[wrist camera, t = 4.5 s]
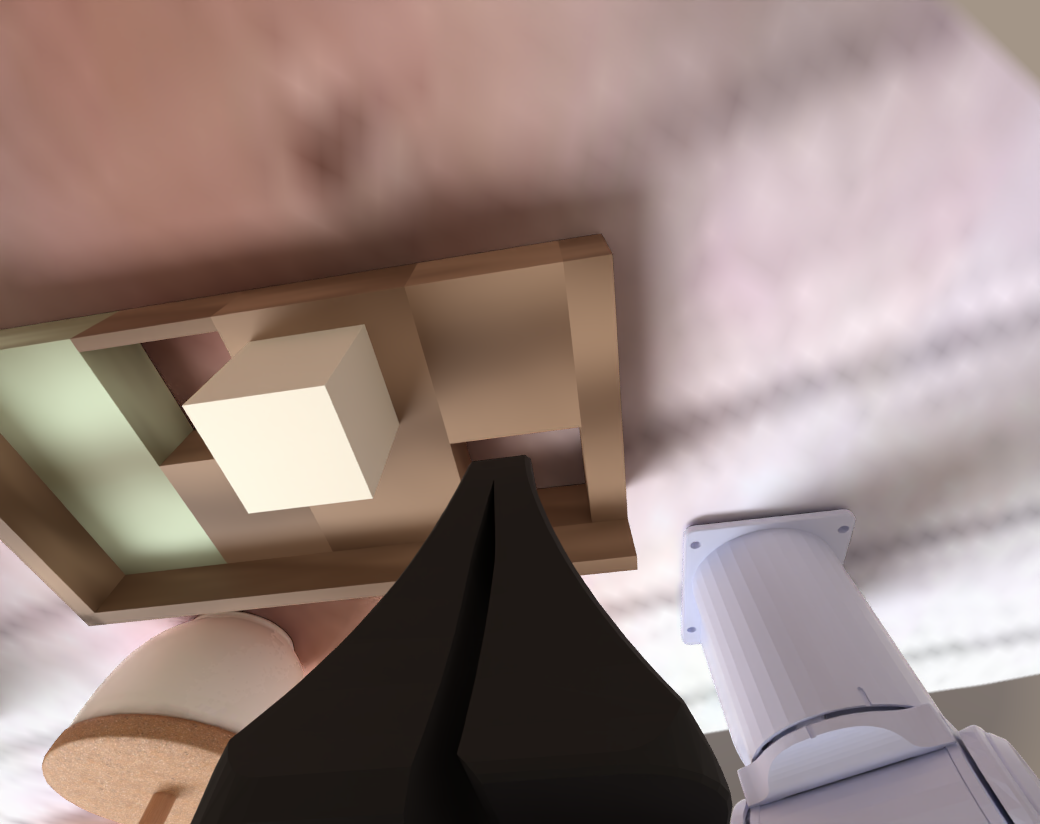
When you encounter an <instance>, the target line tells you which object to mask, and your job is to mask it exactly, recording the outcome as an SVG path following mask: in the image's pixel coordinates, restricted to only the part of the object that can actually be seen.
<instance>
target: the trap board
mask: <svg viewBox="0 0 1040 824" xmlns="http://www.w3.org/2000/svg"><path fill="white" fill-rule="evenodd" d="M363 324H365V327H366V330H367V333H368V336H369V339H370V341H371V344H372V347H373V350H374V353H375V356H376V359H377V361H378V364H379V367H380V370H381V373H382V376H383V379H384V381H385V384H386V387H387V390H388V393H389V396H390V399H391V402H392V404H393V407H394V410H395V413H396V416H397V419H398V422H399V426H398V429H397V432H396V435H395V438H394V440H393V443H392V446H391V449H390V452H389V455H388V457H387V460H386V463H385V466H384V469H383V471H382V474H381V477H380V480H379V483H378V485H377V488H376V491H375V494H374V497H373V499H365V500H356V501H348V502H340V503H331V504H323V505H315V506H307V507H298V508H290V509H282V510H274V511H265V512H257V513H248V512H247V510H246V508H245V507H244V505H243V504H242V502H241V500H240V499H239V497H238V496H237V494H236V492H235V491H234V489H233V488H232V486H231V484H230V483H229V481H228V479H227V478H226V476H225V475H224V473H223V471H222V470H221V468H220V467H219V465H218V463H217V462H216V460H215V458H214V457H213V455H212V454H211V452H210V450H209V449H208V447H207V446H206V444H205V442H204V441H203V439H202V437H201V436H200V434H199V433H198V431H197V429H195V430H194V429H193V428H192V426H191V425H190V423H189V421H188V420H187V418H186V416H185V415H184V413H183V412H182V410H181V408H180V407H179V405H178V404H177V402H176V400H175V399H174V397H173V396H172V394H171V392H170V391H169V389H168V388H167V386H166V384H165V383H164V381H163V380H162V378H161V376H160V375H159V373H158V371H157V370H156V368H155V367H154V365H153V363H152V362H151V360H150V359H149V357H148V355H147V354H146V352H145V351H144V349H143V347H142V346H141V344H140V343H144V342H150V341H157V340H163V339H170V338H176V337H183V336H189V335H196V334H202V333H209V332H215V331H218V333H219V335H220V337H221V338H222V340H223V342H224V344H225V346H226V348H227V350H228V352H229V354H230V356H231V358H233V357H234V356H235V355H236V354H237V353H238V352H239V351H240V350H241V349H242V348H243V347H244V346H245V345H246V344H247V343H248V342H251V341H257V340H264V339H271V338H277V337H284V336H290V335H297V334H304V333H310V332H317V331H323V330H330V329H336V328H343V327H350V326H356V325H363ZM577 427H579V430H580V438H581V447H582V456H583V465H584V474H585V482H586V484H578V485H570V486H561V487H553V488H544V489H536V490H537V493H538V496H539V498H540V501H541V503H542V506H543V508H544V510H545V512H546V515H547V517H548V519H549V521H550V523H551V525H552V527H553V529H554V531H555V533H556V535H557V537H558V539H559V541H560V543H561V545H562V546H563V548H564V550H565V552H566V553H567V555H568V557H569V559H570V560H571V562H572V564H573V565H574V567H575V568H576V570H577V571H578V573H579V575H589V574H598V573H608V572H618V571H627V570H637V555H636V551H635V547H634V543H633V538H632V534H631V530H630V526H629V522H628V517H627V499H626V482H625V464H624V447H623V429H622V412H621V394H620V377H619V359H618V342H617V324H616V307H615V289H614V272H613V254H612V252H611V250H610V249H609V247H608V245H607V243H606V241H605V239H604V238H603V236H602V234H596V235H589V236H583V237H577V238H571V239H564V240H558V241H552V242H546V243H539V244H533V245H527V246H521V247H514V248H508V249H502V250H496V251H489V252H483V253H477V254H471V255H464V256H458V257H452V258H446V259H439V260H433V261H427V262H421V263H415V264H408V265H402V266H396V267H390V268H383V269H377V270H371V271H365V272H358V273H352V274H346V275H340V276H333V277H327V278H321V279H315V280H308V281H302V282H296V283H290V284H283V285H277V286H271V287H265V288H258V289H252V290H246V291H240V292H233V293H227V294H221V295H215V296H209V297H202V298H196V299H190V300H184V301H177V302H171V303H165V304H159V305H152V306H146V307H140V308H134V309H127V310H121V311H115V312H109V313H102V314H96V315H90V316H84V317H77V318H71V319H65V320H59V321H52V322H46V323H40V324H34V325H27V326H21V327H15V328H9V329H3V330H0V540H1V541H2V542H3V543H4V544H5V545H6V546H7V547H8V548H9V549H10V550H12V551H13V552H14V553H15V554H16V555H17V556H18V557H19V558H20V559H21V560H22V561H23V562H24V563H25V564H26V565H27V566H28V567H29V568H30V569H31V570H32V571H33V572H34V573H35V574H36V575H37V576H38V577H39V578H40V579H41V580H42V581H43V582H44V583H45V584H46V585H47V586H48V587H49V588H50V589H52V590H53V591H54V592H55V593H56V594H57V595H58V596H59V597H60V598H61V599H62V600H63V601H64V602H65V603H66V604H67V605H68V606H69V607H70V608H71V609H72V610H73V611H74V612H75V613H76V614H77V615H78V616H79V617H80V618H81V619H82V620H83V621H84V622H85V623H86V624H87V625H88V626H94V625H104V624H114V623H123V622H133V621H143V620H152V619H162V618H172V617H181V616H191V615H201V614H211V613H220V612H230V611H240V610H249V609H259V608H269V607H278V606H288V605H298V604H307V603H317V602H327V601H337V600H346V599H356V598H366V597H375V596H384V595H385V594H386V593H387V592H388V591H389V589H390V588H391V587H392V586H393V584H394V583H395V582H396V581H397V579H398V578H399V577H400V575H401V574H402V573H403V572H404V570H405V569H406V568H407V566H408V565H409V563H410V562H411V561H412V559H413V558H414V556H415V555H416V553H417V552H418V551H419V549H420V548H421V546H422V545H423V543H424V542H425V540H426V539H427V537H428V536H429V534H430V533H431V531H432V530H433V528H434V527H435V525H436V523H437V522H438V520H439V518H440V517H441V515H442V513H443V512H444V510H445V508H446V507H447V505H448V503H449V502H450V500H451V498H452V496H453V495H454V493H455V491H456V489H457V487H458V485H459V484H460V482H461V480H462V478H463V476H464V474H465V472H466V470H467V468H468V466H469V465H470V464H471V459H470V456H469V452H468V448H467V444H466V442H468V441H476V440H484V439H492V438H499V437H507V436H515V435H523V434H531V433H538V432H546V431H554V430H562V429H570V428H577Z"/></svg>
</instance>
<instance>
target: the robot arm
mask: <svg viewBox="0 0 1040 824" xmlns="http://www.w3.org/2000/svg"><path fill="white" fill-rule="evenodd" d="M855 521H856V517H855V516H854V514H853V513H852V512H851V511H850V510H848V509H841V510H832V511H823V512H814V513H805V514H796V515H787V516H777V517H768V518H759V519H750V520H741V521H732V522H723V523H713V524H704V525H695V526H690V527H689V528H687V529H686V530H685V531H684V538H683V575H682V611H681V638H682V641H683V642H684V643H685V644H688V645H692V644H701V645H702V648H703V651H704V655H705V658H706V661H707V664H708V667H709V670H710V673H711V676H712V679H713V682H714V685H715V689H716V692H717V695H718V698H719V701H720V704H721V707H722V710H723V713H724V716H725V719H726V723H727V726H728V729H729V732H730V735H731V738H732V741H733V743H734V746H735V748H736V751H737V753H738V755H739V756H740V758H741V760H742V761H743V763H744V764H745V767H743V768H741V769H739V770H738V771H737V773H738V776H739V779H740V782H741V785H742V788H743V792H744V795H745V798H746V799H742V800H741V801H739V802H738V803H737V804H736V805H735V807H734V809H733V813H732V817H731V811H732V800H731V794H730V790H729V787H728V784H727V782H726V779H725V777H724V774H723V772H722V770H721V767H720V766H719V763H718V761H717V759H716V757H715V755H714V753H713V751H712V749H711V747H710V745H709V744H708V742H707V740H706V738H705V736H704V734H703V733H702V731H701V729H700V727H699V726H698V724H697V722H696V721H695V719H694V717H693V716H692V714H691V712H690V711H689V709H688V707H687V705H686V704H685V702H684V701H683V699H682V698H681V697H680V696H679V695H678V694H677V693H676V692H675V691H674V690H673V689H672V688H671V687H670V686H669V685H668V684H667V683H666V682H665V681H664V680H663V679H662V677H661V676H660V675H659V674H658V673H657V672H656V671H655V670H654V669H653V668H652V667H651V666H650V664H649V663H648V662H647V661H646V660H645V659H644V658H643V657H642V655H641V654H640V653H639V652H638V651H637V650H636V648H635V647H634V646H633V645H632V644H631V643H630V642H629V640H628V639H627V638H626V637H625V636H624V634H623V633H622V632H621V630H620V629H619V628H618V627H617V625H616V624H615V623H614V622H613V620H612V619H611V618H610V616H609V615H608V614H607V613H606V611H605V610H604V609H603V607H602V606H601V605H600V604H599V602H598V601H597V599H596V598H595V597H594V595H593V594H592V592H591V591H590V589H589V588H588V587H587V585H586V584H585V582H584V581H583V579H582V578H581V576H580V575H579V573H578V571H577V570H576V568H575V567H574V565H573V564H572V562H571V560H570V559H569V557H568V555H567V553H566V552H565V550H564V548H563V546H562V545H561V543H560V541H559V539H558V537H557V535H556V533H555V531H554V529H553V527H552V525H551V523H550V521H549V519H548V517H547V515H546V512H545V510H544V508H543V506H542V503H541V501H540V498H539V496H538V493H537V490H536V484H535V479H534V474H533V468H532V463H531V459H530V458H529V457H527V456H526V455H521V456H513V457H505V458H497V459H489V460H481V461H473V462H472V463H471V464H470V465H469V466H468V468H467V470H466V472H465V474H464V476H463V478H462V480H461V482H460V484H459V485H458V487H457V489H456V491H455V493H454V495H453V496H452V498H451V500H450V502H449V503H448V505H447V507H446V508H445V510H444V512H443V513H442V515H441V517H440V518H439V520H438V522H437V523H436V525H435V527H434V528H433V530H432V531H431V533H430V534H429V536H428V537H427V539H426V540H425V542H424V543H423V545H422V546H421V548H420V549H419V551H418V552H417V553H416V555H415V556H414V558H413V559H412V561H411V562H410V563H409V565H408V566H407V568H406V569H405V570H404V572H403V573H402V574H401V575H400V577H399V578H398V579H397V581H396V582H395V583H394V584H393V586H392V587H391V588H390V589H389V591H388V592H387V593H386V594H385V595H384V597H383V598H382V599H381V600H380V601H379V603H378V604H377V605H376V606H375V607H374V608H373V609H372V610H371V611H370V613H369V614H368V615H367V616H366V617H365V618H364V619H363V620H362V622H361V623H360V624H359V625H358V626H357V627H356V628H355V629H354V630H353V631H352V632H351V633H350V634H349V635H348V636H347V638H346V639H345V640H344V641H343V642H342V643H341V644H340V645H339V646H338V647H337V648H335V649H334V650H333V651H332V652H331V653H330V654H329V655H328V656H327V657H326V658H325V659H324V660H323V661H322V662H321V663H320V664H319V665H318V666H317V667H315V668H314V669H313V670H312V671H311V672H310V673H309V674H308V675H307V676H306V677H304V678H303V679H302V680H301V681H300V682H299V683H298V684H297V685H295V686H294V687H293V688H292V689H291V690H290V691H289V692H287V693H286V694H285V695H284V696H283V697H281V698H280V699H279V700H278V701H277V702H275V703H274V704H273V705H272V706H270V707H269V708H268V709H267V710H266V711H264V712H263V713H262V714H261V715H259V716H258V717H257V718H256V719H254V720H253V721H252V722H251V723H250V724H248V725H247V726H246V727H245V728H243V729H242V730H241V731H240V732H238V733H237V734H236V735H234V736H233V737H232V738H231V739H230V740H229V742H228V743H227V745H226V747H225V749H224V751H223V753H222V755H221V757H220V759H219V761H218V763H217V765H216V767H215V769H214V771H213V773H212V775H211V778H210V780H209V782H208V785H207V787H206V789H205V792H204V794H203V796H202V798H201V801H200V803H199V805H198V808H197V810H196V812H195V814H194V817H193V819H192V821H191V823H190V824H730V817H731V824H1040V780H1039V778H1038V777H1037V776H1036V775H1035V773H1034V772H1033V771H1032V769H1031V768H1030V767H1029V766H1028V765H1027V763H1026V762H1025V761H1024V759H1023V758H1022V757H1021V756H1020V755H1019V753H1018V752H1017V751H1016V750H1015V749H1014V747H1013V746H1012V745H1011V744H1010V743H1009V742H1008V741H1007V740H1006V739H1003V738H1001V737H998V736H996V735H994V734H991V733H986V732H985V731H984V730H983V729H982V728H981V727H978V726H976V725H971V726H968V727H966V728H964V729H962V730H960V731H957V730H956V729H955V728H954V727H953V725H952V724H951V723H950V722H949V721H948V720H947V719H946V718H945V717H944V716H943V714H942V713H941V712H940V710H939V709H938V707H937V706H936V704H935V703H934V701H933V700H932V698H931V697H930V695H929V694H928V692H927V691H926V689H925V688H924V686H923V685H922V683H921V682H920V680H919V679H918V677H917V676H916V674H915V673H914V671H913V670H912V668H911V667H910V665H909V664H908V662H907V661H906V659H905V658H904V656H903V655H902V653H901V652H900V650H899V649H898V647H897V646H896V644H895V643H894V641H893V640H892V638H891V637H890V635H889V634H888V632H887V631H886V629H885V628H884V626H883V625H882V623H881V622H880V621H879V619H878V618H877V616H876V615H875V613H874V612H873V610H872V609H871V607H870V606H869V604H868V603H867V601H866V600H865V598H864V597H863V595H862V594H861V592H860V591H859V589H858V588H857V586H856V585H855V583H854V582H853V580H852V579H851V577H850V576H849V574H848V573H847V571H846V570H845V568H844V567H843V564H844V560H845V557H846V553H847V550H848V546H849V542H850V539H851V535H852V532H853V528H854V525H855ZM696 541H697V542H696ZM693 542H694V543H693Z"/></svg>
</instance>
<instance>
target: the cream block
mask: <svg viewBox="0 0 1040 824" xmlns="http://www.w3.org/2000/svg"><path fill="white" fill-rule="evenodd" d="M182 407H183V408H184V410H185V412H186V413H187V415H188V416H189V418H190V420H191V421H192V423H193V425H194V426H195V428H196V429H197V431H198V433H199V434H200V436H201V437H202V439H203V441H204V442H205V444H206V446H207V447H208V449H209V450H210V452H211V454H212V455H213V457H214V458H215V460H216V462H217V463H218V465H219V467H220V468H221V470H222V471H223V473H224V475H225V476H226V478H227V479H228V481H229V483H230V484H231V486H232V488H233V489H234V491H235V492H236V494H237V496H238V497H239V499H240V500H241V502H242V504H243V505H244V507H245V508H246V510H247V512H248V513H257V512H265V511H274V510H282V509H290V508H298V507H307V506H315V505H323V504H331V503H340V502H348V501H356V500H365V499H373V497H374V494H375V491H376V488H377V485H378V483H379V480H380V477H381V474H382V471H383V469H384V466H385V463H386V460H387V457H388V455H389V452H390V449H391V446H392V443H393V440H394V438H395V435H396V432H397V429H398V426H399V422H398V419H397V416H396V413H395V410H394V407H393V404H392V402H391V399H390V396H389V393H388V390H387V387H386V384H385V381H384V379H383V376H382V373H381V370H380V367H379V364H378V361H377V359H376V356H375V353H374V350H373V347H372V344H371V341H370V339H369V336H368V333H367V330H366V327H365V324H363V325H356V326H350V327H343V328H336V329H330V330H323V331H317V332H310V333H304V334H297V335H290V336H284V337H277V338H271V339H264V340H257V341H251V342H248V343H247V344H246V345H245V346H244V347H243V348H242V349H241V350H240V351H239V352H238V353H237V354H236V355H235V356H234V357H233V358H232V359H231V360H230V361H228V362H227V363H226V364H225V365H224V366H223V367H222V368H221V369H220V370H219V371H218V372H217V373H216V374H215V375H214V376H213V377H212V378H211V379H210V380H208V381H207V382H206V383H205V384H204V385H203V386H202V387H201V388H200V389H199V390H198V391H197V392H196V393H195V394H194V395H193V396H192V397H191V398H190V399H188V400H187V401H186V402H185V403H184V404H183V405H182Z"/></svg>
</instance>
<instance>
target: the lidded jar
mask: <svg viewBox="0 0 1040 824" xmlns="http://www.w3.org/2000/svg"><path fill="white" fill-rule="evenodd" d="M304 677H305V674H304V670H303V668H302V665H301V663H300V661H299V659H298V657H297V655H296V653H295V652H294V645H293V642H292V640H291V638H290V637H289V636H288V634H287V633H286V632H285V631H284V630H283V629H282V628H280V627H279V626H277V625H276V624H274V623H272V622H271V621H269V620H267V619H264V618H262V617H259V616H256V615H253V614H249V613H245V612H239V611H230V612H220V613H211V614H202V615H200V616H198V617H197V618H195V619H194V620H193V621H190V622H186V623H182V624H180V625H177V626H175V627H172V628H170V629H168V630H165V631H163V632H162V633H160V634H158V635H156V636H154V637H153V638H151V639H150V640H148V641H147V642H145V643H144V644H143V645H141V646H140V647H139V648H137V649H136V650H135V651H133V652H132V653H131V654H130V655H129V656H127V657H126V658H125V659H124V660H123V661H122V662H121V663H120V664H119V665H118V666H117V667H116V668H115V669H114V670H113V671H112V673H111V674H110V675H109V676H108V677H107V678H106V679H105V681H104V682H103V683H102V684H101V685H100V686H99V687H98V689H97V690H96V691H95V692H94V693H93V694H92V696H91V697H90V698H89V700H88V701H87V702H86V704H85V705H84V706H83V708H82V709H81V710H80V712H79V713H78V714H77V716H76V717H75V719H74V720H73V722H72V723H71V725H70V726H69V727H68V728H67V729H66V730H64V732H63V733H62V734H61V735H60V736H59V737H58V739H57V740H56V741H55V742H54V744H53V745H52V746H51V748H50V749H49V751H48V752H47V754H46V755H45V757H44V760H43V763H42V769H43V775H44V777H45V779H46V781H47V783H48V784H49V785H50V786H51V787H52V788H53V789H54V790H55V791H56V792H57V793H58V794H60V795H61V796H62V797H63V798H65V799H66V800H68V801H70V802H71V803H73V804H75V805H77V806H78V807H80V808H82V809H84V810H86V811H88V812H90V813H93V814H96V815H98V816H101V817H104V818H107V819H110V820H113V821H116V822H118V823H122V824H190V823H191V821H192V819H193V817H194V814H195V812H196V810H197V808H198V805H199V803H200V801H201V798H202V796H203V794H204V792H205V789H206V787H207V785H208V782H209V780H210V778H211V775H212V773H213V771H214V769H215V767H216V765H217V763H218V761H219V759H220V757H221V755H222V753H223V751H224V749H225V747H226V745H227V743H228V742H229V740H230V739H231V738H232V737H233V736H234V735H236V734H237V733H238V732H240V731H241V730H242V729H243V728H245V727H246V726H247V725H248V724H250V723H251V722H252V721H253V720H254V719H256V718H257V717H258V716H259V715H261V714H262V713H263V712H264V711H266V710H267V709H268V708H269V707H270V706H272V705H273V704H274V703H275V702H277V701H278V700H279V699H280V698H281V697H283V696H284V695H285V694H286V693H287V692H289V691H290V690H291V689H292V688H293V687H294V686H295V685H297V684H298V683H299V682H300V681H301V680H302V679H303V678H304Z"/></svg>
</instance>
